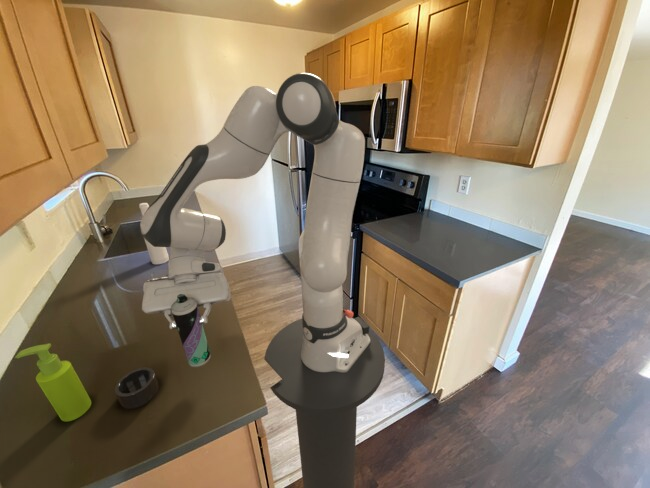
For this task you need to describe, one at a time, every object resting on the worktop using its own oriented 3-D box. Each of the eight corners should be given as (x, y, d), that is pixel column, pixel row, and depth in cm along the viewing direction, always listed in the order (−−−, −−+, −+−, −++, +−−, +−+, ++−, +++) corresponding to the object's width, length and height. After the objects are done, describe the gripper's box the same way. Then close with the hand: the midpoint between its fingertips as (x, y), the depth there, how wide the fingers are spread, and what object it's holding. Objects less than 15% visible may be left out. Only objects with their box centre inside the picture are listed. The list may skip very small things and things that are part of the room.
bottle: (153, 259, 142) (135, 202, 130) (170, 256, 144) (154, 200, 132) (150, 265, 135) (131, 206, 123) (168, 263, 138) (151, 204, 125)
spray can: (184, 367, 70) (163, 303, 62) (193, 351, 75) (174, 289, 67) (206, 366, 70) (187, 301, 62) (213, 350, 75) (197, 288, 67)
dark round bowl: (154, 374, 76) (149, 362, 74) (162, 394, 70) (157, 381, 69) (118, 392, 71) (112, 380, 69) (123, 416, 65) (117, 403, 63)
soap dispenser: (61, 404, 68) (23, 343, 60) (95, 395, 70) (63, 334, 62) (50, 427, 63) (7, 363, 55) (86, 416, 65) (50, 353, 57)
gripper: (137, 275, 67) (135, 333, 62) (225, 263, 71) (229, 316, 67) (149, 281, 73) (148, 335, 68) (229, 269, 77) (233, 319, 72)
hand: (189, 326), depth 67 cm, fingers closed on spray can, 5 cm apart
